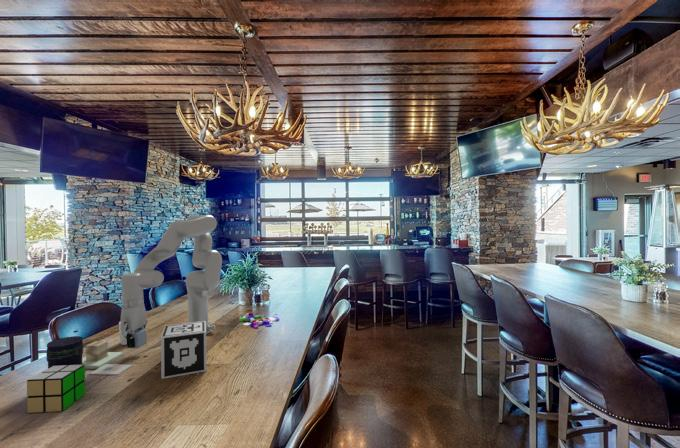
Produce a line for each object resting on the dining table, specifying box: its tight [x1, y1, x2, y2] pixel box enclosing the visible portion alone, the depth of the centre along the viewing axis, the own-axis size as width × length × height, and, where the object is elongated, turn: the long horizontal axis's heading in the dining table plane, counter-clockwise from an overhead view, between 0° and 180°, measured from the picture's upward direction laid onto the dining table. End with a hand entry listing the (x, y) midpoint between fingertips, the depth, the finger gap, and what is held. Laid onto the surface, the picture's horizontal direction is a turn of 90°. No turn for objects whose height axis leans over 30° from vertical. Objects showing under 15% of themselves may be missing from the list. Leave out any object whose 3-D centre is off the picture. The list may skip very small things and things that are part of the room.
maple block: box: [85, 340, 109, 361], centre depth 131 cm, size 5×5×6 cm
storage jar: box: [46, 330, 84, 369], centre depth 113 cm, size 10×10×18 cm
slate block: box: [129, 329, 147, 349], centre depth 137 cm, size 5×5×6 cm
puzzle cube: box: [26, 365, 86, 414], centre depth 100 cm, size 10×10×10 cm
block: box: [160, 321, 208, 380], centre depth 126 cm, size 15×15×15 cm
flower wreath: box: [239, 312, 280, 330], centre depth 184 cm, size 25×20×4 cm
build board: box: [82, 351, 125, 370], centre depth 131 cm, size 13×13×1 cm
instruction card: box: [89, 363, 133, 376], centre depth 123 cm, size 11×8×1 cm
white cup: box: [118, 321, 130, 346], centre depth 152 cm, size 8×8×10 cm
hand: (135, 344), depth 138 cm, fingers closed on slate block, 5 cm apart
